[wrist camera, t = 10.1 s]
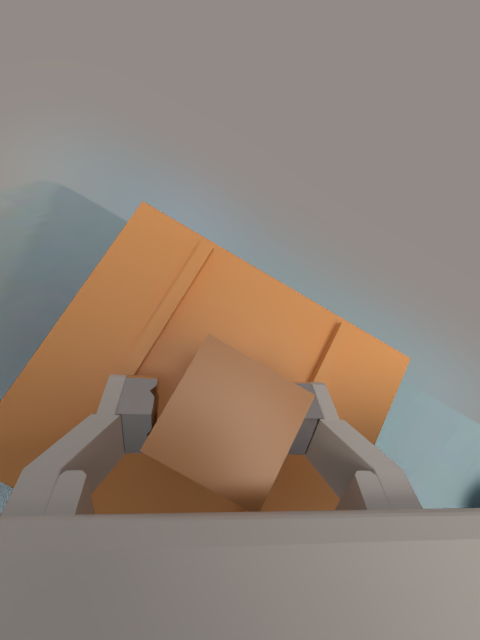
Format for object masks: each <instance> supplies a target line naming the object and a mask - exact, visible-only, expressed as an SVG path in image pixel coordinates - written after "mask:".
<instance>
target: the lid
mask: <svg viewBox="0 0 480 640" xmlns="http://www.w3.org/2000/svg"><path fill="white" fill-rule="evenodd" d="M409 361H410V358H409V357H407V356H405V355H404V354H402V353H400V352H399V351H397V350H395V349H393V348H392V347H390V346H388V345H387V344H385V343H383V342H382V341H380V340H378V339H376V338H375V337H373V336H371V335H370V334H368V333H366V332H364V331H363V330H361V329H359V328H358V327H356V326H354V325H353V324H351V323H349V322H347V321H346V320H344V319H342V318H341V317H339V316H337V315H336V314H334V313H332V312H331V311H329V310H327V309H325V308H324V307H322V306H320V305H319V304H317V303H315V302H313V301H312V300H310V299H308V298H307V297H305V296H303V295H302V294H300V293H298V292H296V291H295V290H293V289H291V288H290V287H288V286H286V285H285V284H283V283H281V282H279V281H278V280H276V279H274V278H273V277H271V276H269V275H267V274H266V273H264V272H262V271H261V270H259V269H257V268H256V267H254V266H252V265H250V264H249V263H247V262H245V261H243V260H242V259H240V258H239V257H237V256H235V255H233V254H232V253H230V252H228V251H227V250H225V249H223V248H221V247H220V246H218V245H216V244H215V243H213V242H211V241H210V240H208V239H206V238H205V237H203V236H201V235H199V234H198V233H196V232H194V231H192V230H191V229H189V228H187V227H186V226H184V225H182V224H181V223H179V222H177V221H175V220H174V219H172V218H170V217H169V216H167V215H165V214H164V213H162V212H160V211H158V210H157V209H155V208H153V207H152V206H150V205H148V204H147V203H145V202H142V203H141V204H140V206H139V207H138V209H137V210H136V211H135V213H134V214H133V216H132V217H131V218H130V220H129V221H128V223H127V224H126V225H125V227H124V228H123V230H122V231H121V232H120V234H119V235H118V237H117V238H116V240H115V241H114V242H113V244H112V245H111V247H110V248H109V249H108V251H107V252H106V254H105V255H104V256H103V258H102V259H101V261H100V262H99V263H98V265H97V266H96V268H95V269H94V271H93V272H92V273H91V275H90V276H89V278H88V279H87V280H86V282H85V283H84V285H83V286H82V287H81V289H80V290H79V292H78V293H77V294H76V296H75V297H74V299H73V300H72V301H71V303H70V304H69V306H68V307H67V309H66V310H65V311H64V313H63V314H62V316H61V317H60V318H59V320H58V321H57V323H56V324H55V325H54V327H53V328H52V330H51V331H50V332H49V334H48V335H47V337H46V338H45V340H44V341H43V342H42V344H41V345H40V347H39V348H38V349H37V351H36V352H35V354H34V355H33V356H32V358H31V359H30V361H29V362H28V363H27V365H26V366H25V368H24V369H23V370H22V372H21V373H20V375H19V376H18V378H17V379H16V380H15V382H14V383H13V385H12V386H11V387H10V389H9V390H8V392H7V393H6V394H5V396H4V397H3V399H2V400H1V401H0V481H1V482H3V483H5V484H6V485H8V486H10V487H12V488H14V487H15V485H16V483H17V481H18V479H19V477H20V474H21V472H22V470H23V469H24V468H25V467H26V466H27V465H29V464H30V463H31V462H32V461H34V460H35V459H36V458H37V457H38V456H40V455H41V454H42V453H43V452H45V451H46V450H47V449H48V448H50V447H51V446H52V445H53V444H55V443H56V442H57V441H58V440H60V439H61V438H62V437H63V436H65V435H66V434H67V433H68V432H69V431H71V430H72V429H73V428H74V427H76V426H77V425H78V424H79V423H81V422H82V421H83V420H84V419H86V418H87V417H88V416H89V415H91V414H96V413H97V410H98V407H99V404H100V401H101V398H102V395H103V392H104V389H105V386H106V384H107V381H108V378H109V376H110V375H111V374H118V375H139V376H155V377H159V389H158V394H159V409H158V418H157V422H156V424H155V425H154V427H153V429H152V431H151V432H150V434H149V436H148V437H147V439H146V441H145V443H144V444H143V446H142V448H141V449H140V451H141V452H143V453H124V456H123V457H122V459H121V460H120V461H119V462H118V463H117V465H116V466H115V467H114V468H113V469H112V470H111V472H110V473H109V474H108V475H107V476H106V478H105V479H104V480H103V481H102V482H101V484H100V485H99V486H98V487H97V488H96V489H95V491H94V492H93V493H92V494H91V498H92V503H93V508H94V512H95V514H140V513H201V512H261V511H321V510H335V509H336V507H337V505H338V503H339V502H340V498H339V497H338V496H337V495H336V493H335V492H334V491H333V490H332V489H331V487H330V486H329V485H328V484H327V482H326V481H325V480H324V479H323V477H322V476H321V475H320V474H319V472H318V471H317V470H316V469H315V468H314V466H313V465H312V464H311V463H310V461H309V460H308V459H307V458H306V456H305V455H296V454H288V452H289V450H290V447H291V445H292V443H293V441H294V439H295V437H296V435H297V433H298V431H299V429H300V427H301V424H302V422H303V420H304V418H305V416H306V414H307V412H308V410H309V408H310V406H311V404H312V401H313V399H314V397H315V395H314V394H312V393H311V392H309V391H307V390H305V389H304V388H302V387H300V386H299V385H297V384H295V383H293V382H324V383H325V384H326V387H327V389H328V391H329V394H330V396H331V399H332V401H333V404H334V406H335V409H336V411H337V414H338V416H339V419H340V420H345V421H346V422H347V423H348V424H350V425H351V426H352V427H353V428H354V429H355V430H357V431H358V432H359V433H360V434H361V435H362V436H364V437H365V438H366V439H367V440H368V441H370V442H371V443H372V444H373V445H375V442H376V440H377V437H378V435H379V433H380V430H381V428H382V426H383V423H384V421H385V418H386V416H387V414H388V411H389V409H390V406H391V404H392V402H393V399H394V397H395V394H396V392H397V390H398V387H399V385H400V383H401V380H402V378H403V375H404V373H405V371H406V368H407V366H408V363H409Z"/></svg>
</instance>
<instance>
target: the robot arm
mask: <svg viewBox="0 0 480 640" xmlns="http://www.w3.org/2000/svg"><path fill="white" fill-rule="evenodd" d="M293 383H295V384H297V385H299V386H300V387H302V388H304V389H305V390H307V391H309V392H311V393H312V394H314V395H315V397H314V399H313V401H312V404H311V406H310V408H309V410H308V412H307V414H306V416H305V418H304V420H303V422H302V424H301V427H300V429H299V431H298V433H297V435H296V437H295V439H294V441H293V443H292V445H291V447H290V450H289V452H288V454H296V455H305V456H306V458H307V459H308V460H309V461H310V463H311V464H312V465H313V466H314V468H315V469H316V470H317V471H318V472H319V474H320V475H321V476H322V477H323V479H324V480H325V481H326V482H327V484H328V485H329V486H330V487H331V489H332V490H333V491H334V492H335V493H336V495H337V496H338V497H339V498H340V502H339V503H338V505H337V507H336V509H335V510H321V511H261V512H201V513H140V514H95V512H94V508H93V503H92V498H91V494H92V493H93V492H94V491H95V489H96V488H97V487H98V486H99V485H100V484H101V482H102V481H103V480H104V479H105V478H106V476H107V475H108V474H109V473H110V472H111V470H112V469H113V468H114V467H115V466H116V465H117V463H118V462H119V461H120V460H121V459H122V457H123V456H124V453H143V452H141V451H140V449H141V448H142V446H143V444H144V443H145V441H146V439H147V437H148V436H149V434H150V432H151V431H152V429H153V427H154V425H155V424H156V422H157V418H158V409H159V394H158V389H159V377H155V376H139V375H118V374H111V375H110V376H109V378H108V381H107V384H106V386H105V389H104V392H103V395H102V398H101V401H100V404H99V407H98V410H97V413H96V414H91V415H89V416H88V417H87V418H86V419H84V420H83V421H82V422H81V423H79V424H78V425H77V426H76V427H74V428H73V429H72V430H71V431H69V432H68V433H67V434H66V435H65V436H63V437H62V438H61V439H60V440H58V441H57V442H56V443H55V444H53V445H52V446H51V447H50V448H48V449H47V450H46V451H45V452H43V453H42V454H41V455H40V456H38V457H37V458H36V459H35V460H34V461H32V462H31V463H30V464H29V465H27V466H26V467H25V468H24V469H23V470H22V472H21V474H20V477H19V479H18V481H17V483H16V485H15V487H14V489H13V491H12V493H11V495H10V497H9V499H8V501H7V503H6V505H5V507H4V509H3V511H2V514H1V516H0V640H480V508H444V509H423V508H422V506H421V504H420V502H419V500H418V498H417V496H416V494H415V493H414V491H413V489H412V487H411V485H410V483H409V481H408V479H407V477H406V475H405V473H404V471H403V469H401V468H400V467H399V466H398V465H397V464H395V463H394V462H393V461H392V460H391V459H390V458H388V457H387V456H386V455H385V454H384V453H383V452H381V451H380V450H379V449H378V448H377V447H375V446H374V445H373V444H372V443H371V442H370V441H368V440H367V439H366V438H365V437H364V436H362V435H361V434H360V433H359V432H358V431H357V430H355V429H354V428H353V427H352V426H351V425H350V424H348V423H347V422H346V421H345V420H340V419H339V416H338V414H337V411H336V409H335V406H334V404H333V401H332V399H331V396H330V394H329V391H328V389H327V387H326V384H325V383H324V382H293Z"/></svg>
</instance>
